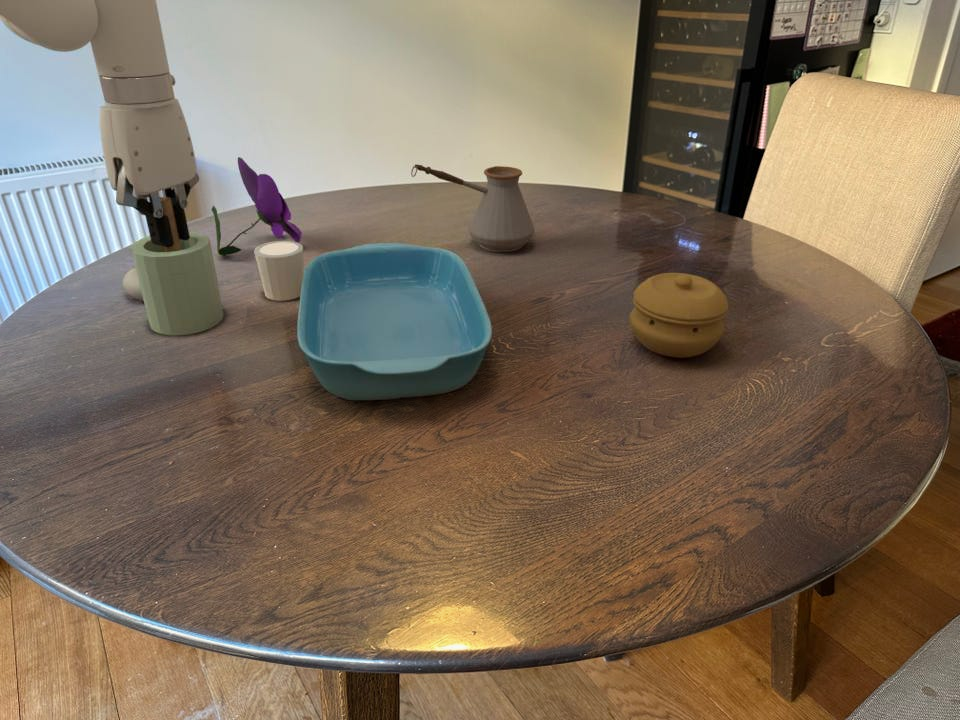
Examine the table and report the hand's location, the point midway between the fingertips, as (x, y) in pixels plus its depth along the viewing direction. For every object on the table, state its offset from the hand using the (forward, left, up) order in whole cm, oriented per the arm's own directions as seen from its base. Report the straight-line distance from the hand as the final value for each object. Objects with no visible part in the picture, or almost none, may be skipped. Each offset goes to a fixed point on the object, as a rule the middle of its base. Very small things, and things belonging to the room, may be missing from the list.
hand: (171, 240), depth 90 cm
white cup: (+12, +8, -12) cm, 18 cm away
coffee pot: (+42, +25, -12) cm, 50 cm away
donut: (-6, +10, -12) cm, 16 cm away
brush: (0, 0, -11) cm, 11 cm away
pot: (+64, -13, -12) cm, 66 cm away
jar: (0, 0, -11) cm, 11 cm away
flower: (+5, +26, -12) cm, 29 cm away
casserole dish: (+28, -9, -12) cm, 32 cm away
